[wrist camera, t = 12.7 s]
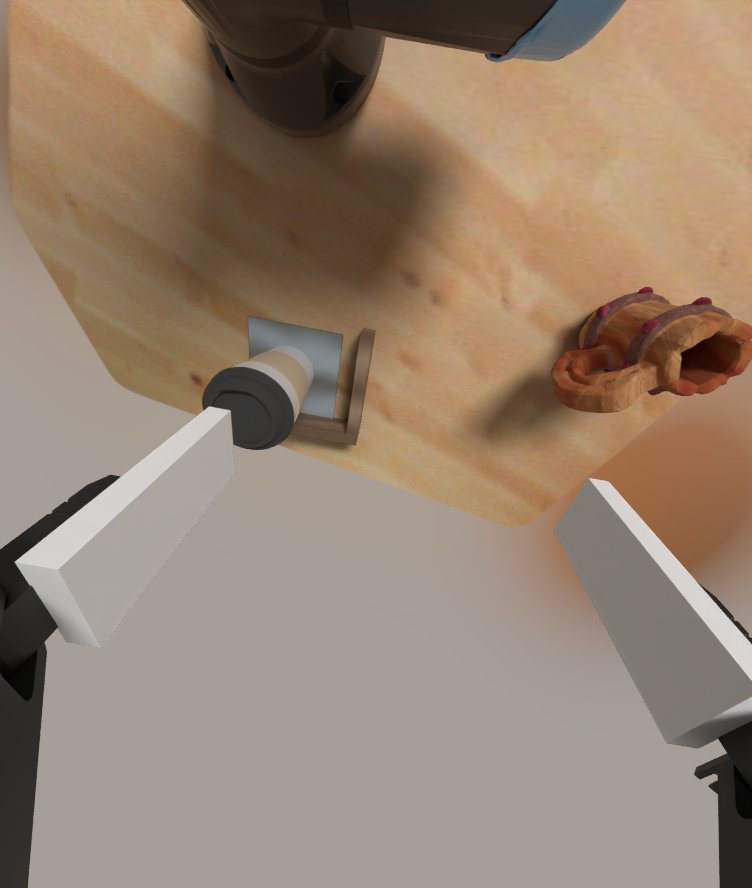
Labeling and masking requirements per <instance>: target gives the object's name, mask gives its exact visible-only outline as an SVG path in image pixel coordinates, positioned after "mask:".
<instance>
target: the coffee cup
mask: <svg viewBox="0 0 752 888" xmlns="http://www.w3.org/2000/svg"><path fill="white" fill-rule="evenodd" d="M313 378H314V370H313V366H312V363H311V362H310V360H309V358H308V357H307V356H306V355H305V354H304V353H303V352H302V351H300V350H298V349H296V348H294V347H291V346H278V347H275V348H273V349H271V350H269V351H267V352H264V353H261V354H259V355H257V356H254V357H252V358H250V359H248V360H245V361H243V362H241V363H239V364H237V365H235V366H233V367H232V368H228V369H225V370H223V371H221V372H219V373H218V374H217V375H215V376H214V377H213V379H212V380H211V381H210V383H209V384H208V385H207V387H206V389H205V391H204V393H203V398H202V405H203V411H204V410H205V409H207V408H208V407H215V408H220V409H225V410H230V411H231V423H232V436H233V445H236V446H239V447H242V448H246V449H252V450H262V449H268V448H271V447H274V446H276V445H278V444H279V443H281V442H282V441H284V440H285V439H286V438H287V437H288V435H289V434H290V432H291V430H292V428H293V424H294V422H295V421H296V419H297V417H298V415H299V412H300V410H301V408H302V406H303V404H304V402H305V399H306V397H307V395H308V392H309V388H310V386H311V384H312V381H313Z"/></svg>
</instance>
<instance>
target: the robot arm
mask: <svg viewBox="0 0 752 888" xmlns="http://www.w3.org/2000/svg"><path fill="white" fill-rule="evenodd" d="M182 1H183V3H184V4H185V5H186V6H187V7H188V8H189V9H190V10H191V11H192V13H193V14H194V15H195V16H196V17H197V18H198V19H199V20H200V21H201V23H202V24H203V27H204V30H205V32H206V35H207V38H208V41H209V43H210V46H211V48H212V51H213V53H214V56H215V58H216V60H217V62H218V64H219V66H220V68H221V70H222V72H223V73H224V75H225V77H226V79H227V80H228V82H229V83H230V85H231V86H232V88H233V89H234V90H235V92H236V93H237V95H238V96H239V97H240V98H241V99H242V101H243V102H244V103H245V104H246V105H247V106H248V107H249V108H250V109H251V110H252V111H253V112H254V113H256V114H257V115H258V116H259V117H260V118H261V119H262V120H263V121H265V122H266V123H267V124H269V125H270V126H272V127H273V128H275V129H277V130H279V131H281V132H283V133H286V134H288V135H292V136H296V137H306V138H307V137H317V136H321V135H325V134H327V133H330V132H332V131H334V130H336V129H337V128H339V127H340V126H342V125H343V124H344V123H346V122H347V121H348V120H349V119H350V118H351V117H352V116H353V115H354V114H355V113H356V111H357V110H358V109H359V108H360V106H361V105H362V103H363V102H364V100H365V99H366V97H367V95H368V93H369V91H370V90H371V87H372V85H373V83H374V81H375V78H376V75H377V73H378V69H379V66H380V63H381V59H382V55H383V50H384V45H385V38H386V37H389V38H395V39H401V40H407V41H413V42H419V43H425V44H431V45H437V46H443V47H449V48H455V49H461V50H466V51H472V52H478V53H484V54H485V56H486V58H487V59H488V60H490V61H492V62H502V61H505V60H509V59H511V58H517V59H527V60H537V61H555V60H559V59H561V58H563V57H565V56H566V55H568V54H571V53H573V52H574V51H575V50H578V49H580V48H581V47H583V46H584V45H585V44H587V43H588V42H589V41H590V40H591V39H592V38H593V37H594V36H595V35H596V34H597V33H598V32H599V31H600V30H601V29H602V28H603V27H604V26H605V25H606V24H607V23H608V22H609V21H610V20H611V18H612V17H613V16H614V15H615V14H616V12H617V11H618V10H619V9H620V8H621V6H622V5H623V4H624V3H625V1H626V0H182ZM234 464H235V463H234V451H233V436H232V423H231V411H230V410H225V409H220V408H215V407H208V408H207V409H205V410H204V411H203V412H202V413H200V414H199V415H198V416H197V417H195V418H194V419H193V420H192V421H190V422H189V423H188V424H187V425H185V426H184V427H183V428H182V429H180V430H179V431H178V432H177V433H175V434H174V435H173V436H172V437H170V438H169V439H168V440H167V441H165V442H164V443H163V444H162V445H160V446H159V447H158V448H157V449H155V450H154V451H153V452H152V453H150V454H149V455H148V456H147V457H145V458H144V459H143V460H142V461H140V462H139V463H138V464H137V465H135V466H134V467H133V468H132V469H130V470H129V471H128V472H127V473H125V474H124V475H123V476H122V477H120V476H114V475H109V476H107V477H105V478H102V479H100V480H98V481H95V482H93V483H91V484H88V485H87V486H85V487H84V488H83V489H81V490H80V491H78V493H76V494H75V495H73V496H72V497H70V498H69V499H68V502H64V503H62V504H61V505H60V506H58V507H57V508H55V509H54V510H53V511H52V513H51V514H47V515H46V516H45V517H44V518H42V519H41V520H39V521H38V522H37V523H35V524H34V525H33V526H31V527H30V528H28V529H27V530H26V531H24V532H23V533H22V534H21V535H19V536H18V537H16V538H15V539H14V540H12V541H11V542H10V543H8V544H7V545H5V546H4V547H3V548H2V549H0V888H28V876H29V864H30V852H31V840H32V827H33V815H34V803H35V791H36V779H37V766H38V753H39V741H40V730H41V717H42V706H43V693H44V681H45V669H46V657H47V651H46V646H45V643H44V642H45V641H46V640H47V638H48V637H49V636H50V635H51V634H52V633H53V632H54V631H55V630H56V628H58V630H59V631H60V633H61V634H62V636H63V637H64V639H65V640H66V642H70V643H76V644H82V645H88V646H94V647H100V648H101V647H102V646H103V644H104V643H105V642H106V640H107V639H108V638H109V637H110V635H111V634H112V633H113V631H114V630H115V628H116V627H117V626H118V625H119V623H120V622H121V621H122V619H123V618H124V617H125V615H126V614H127V613H128V612H129V610H130V609H131V608H132V606H133V605H134V604H135V602H136V601H137V600H138V599H139V597H140V596H141V595H142V593H143V592H144V591H145V589H146V588H147V587H148V585H149V584H150V583H151V582H152V580H153V579H154V578H155V576H156V575H157V574H158V572H159V571H160V570H161V568H162V567H163V566H164V564H165V563H166V562H167V561H168V559H169V558H170V557H171V555H172V554H173V553H174V551H175V550H176V549H177V547H178V546H179V545H180V543H181V542H182V541H183V540H184V538H185V537H186V536H187V534H188V533H189V532H190V530H191V529H192V528H193V526H194V525H195V524H196V523H197V521H198V520H199V519H200V517H201V516H202V515H203V513H204V512H205V511H206V510H207V508H208V507H209V506H210V504H211V503H212V502H213V500H214V499H215V498H216V496H217V495H218V494H219V492H220V491H221V490H222V488H223V487H224V486H225V485H226V483H227V482H228V481H229V479H230V478H231V477H232V475H233V474H234V473H235V465H234ZM554 532H555V534H556V536H557V538H558V540H559V542H560V543H561V545H562V547H563V549H564V551H565V553H566V555H567V557H568V559H569V560H570V562H571V564H572V566H573V568H574V570H575V572H576V574H577V576H578V577H579V579H580V581H581V583H582V585H583V587H584V589H585V591H586V592H587V594H588V596H589V598H590V600H591V602H592V604H593V606H594V608H595V609H596V611H597V613H598V615H599V617H600V619H601V621H602V623H603V625H604V626H605V628H606V630H607V632H608V634H609V636H610V638H611V640H612V642H613V643H614V645H615V647H616V649H617V651H618V653H619V654H620V656H621V658H622V660H623V662H624V664H625V666H626V668H627V669H628V672H629V674H630V675H631V677H632V679H633V681H634V683H635V685H636V687H637V689H638V690H639V692H640V694H641V696H642V698H643V700H644V702H645V704H646V706H647V707H648V709H649V711H650V713H651V715H652V716H653V719H654V721H655V723H656V724H657V726H658V728H659V730H660V732H661V734H662V736H663V738H664V739H665V741H666V743H668V744H674V745H680V746H686V747H692V748H700V747H702V746H704V745H706V744H708V743H710V742H712V741H714V740H716V739H719V741H720V742H721V744H722V746H723V747H724V749H725V750H726V752H727V754H725V755H722V756H720V757H718V758H716V759H714V760H711V761H709V762H707V763H705V764H703V765H700V766H698V767H697V768H696V770H695V773H694V775H695V776H696V777H698V778H699V779H702V778H704V777H707V776H709V775H712V774H716V775H718V781H715V782H713V783H711V784H710V785H709V787H710V788H711V789H712V790H713V791H714V792H716V793H717V794H718V817H719V875H720V888H752V638H750V637H749V633H747V631H746V630H745V629H744V628H743V627H742V626H741V624H740V623H739V622H738V621H734V617H733V616H732V615H731V613H730V612H729V611H728V610H727V609H726V608H725V607H724V606H723V604H722V603H721V602H720V601H719V600H718V599H717V598H716V597H715V596H714V595H713V594H711V593H710V592H709V591H708V590H706V589H705V588H704V587H703V586H702V585H700V584H699V583H698V582H696V580H695V579H694V578H693V577H692V576H691V575H690V574H689V573H688V572H687V570H686V569H685V568H684V567H683V566H682V565H681V563H680V562H678V560H677V559H676V558H675V557H674V556H673V554H672V553H671V552H670V551H669V550H668V549H667V548H666V546H665V545H664V544H663V543H662V542H661V541H660V540H659V538H658V537H657V536H656V535H655V534H654V533H653V532H652V531H651V529H650V528H649V527H648V526H647V525H646V524H645V523H644V522H643V520H642V519H641V518H640V517H639V516H638V515H637V514H636V512H634V510H633V509H632V508H631V507H630V506H629V504H628V503H627V502H626V501H625V500H624V499H623V498H622V497H621V495H620V494H619V493H618V492H617V491H616V490H615V489H614V487H613V486H612V485H611V484H610V483H609V482H608V481H602V480H597V479H592V478H588V479H587V480H586V482H585V484H584V485H583V486H582V488H581V489H580V491H579V492H578V494H577V496H576V497H575V499H574V500H573V502H572V503H571V505H570V506H569V508H568V509H567V511H566V512H565V514H564V515H563V517H562V518H561V520H560V522H559V523H558V524H557V526H556V528H555V529H554Z"/></svg>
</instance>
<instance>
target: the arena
mask: <svg viewBox="0 0 752 888" xmlns="http://www.w3.org/2000/svg"><path fill="white" fill-rule="evenodd" d="M248 329H249V355H250V358H252V357H254V356H257V355H259V354H261V353H264V352H267V351H269V350H271V349H273V348H275V347H278V346H291V347H294V348H296V349H298V350H300V351H302V352H303V353H304V354H305V355H306V356H307V357H308V358H309V360H310V362H311V363H312V366H313V370H314V378H313V381H312V384H311V386H310V388H309V392H308V395H307V397H306V399H305V402H304V404H303V406H302V408H301V410H300V412H299V415H298V417H297V419H296V421H295V422H294V424H293V428H292V430H291V432H290V434H296V435H301V436H306V437H312V438H317V439H323V440H328V441H333V442H339V443H344V444H349V445H355V446H356V442H357V438H358V434H359V429H360V423H361V417H362V411H363V405H364V399H365V392H366V386H367V380H368V374H369V368H370V362H371V356H372V350H373V344H374V338H375V332H376V330H370V329H365V328H364V329H363V331H362V333H361V335H360V339H359V347H358V354H357V361H356V368H355V375H354V382H353V389H352V396H351V404H350V411H349V418H348V420H342V419H337V418H334V410H335V401H336V392H337V383H338V374H339V365H340V357H341V348H342V339H343V334H338V333H332V332H327V331H322V330H317V329H312V328H307V327H301V326H296V325H291V324H286V323H281V322H276V321H271V320H265V319H260V318H255V317H250V316H249V317H248Z"/></svg>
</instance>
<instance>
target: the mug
mask: <svg viewBox="0 0 752 888" xmlns="http://www.w3.org/2000/svg"><path fill="white" fill-rule="evenodd" d="M751 339H752V327H751V326H750V325H749V324H746V323H744V322H742V321H739V320H737V319H733V318H732V317H731V315H730V314H729V313H727V312H726V311H725V310H723V309H720V308H717V307H715V306H713V305H712V301H711V299H709V298H707V297H701V298H699V299H697V300H696V301H694V302H693V303H692V304H688V305H683V306H675V305H671V304H670V303H669V301H668V300H666V299H665V298H663V297H662V296H659V295H656V294H653V289H652V288H651V287H645V288H643V289H641V290H640V291H639V292H637V293H633V294H628V295H624V296H622V297H620V298H617V299H616V300H614V301H612V302H609V303H607V304H606V305H604V306H602V307H600V308H598V309H597V310H596V311H594V313H593V314H592V315H591V316H590V317H589V319H588V320H587V321H586V323H585V325H584V327H583V328H582V330H581V332H580V334H579V346H580V349H581V350H573V351H567V352H565V353H564V354H563V355H562V356H561V358H560V359H559V360H558V361H557V362H556V364H555V365H554V367H553V369H552V371H551V376H552V381H553V385H554V389H555V393H556V396H557V398H558V399H559V400H560V402H561V403H562V404H564V405H566V406H567V407H569V408H572V409H575V410H579V411H585V412H594V413H611V412H618V411H621V410H623V409H626V408H628V407H629V406H631V405H632V403H633V402H634V401H635V400H636V399H637V398H638V396H639V395H641V394H643V393H645V392H647V391H648V393H649V394H651V395H656V394H659V393H661V392H663V391H669V392H671V393H674V394H676V395H681V396H691V395H693V394H694V393H699V394H706V393H709V392H712V391H714V390H715V389H717V388H718V387H719V386H721V385H724V384H726V383H727V380H728V379H729V378H730V377H732V376H736V375H740V374H741V373H742V372H743V371H744V370H745V368H746V367H747V365H748V364H749V362H750V361H751V359H752V341H751ZM602 369H604V371H605V373H601V374H595V375H589V374H590V373H592V372H594V371H598V370H602ZM618 370H619V371H618ZM587 375H589V376H587Z"/></svg>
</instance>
